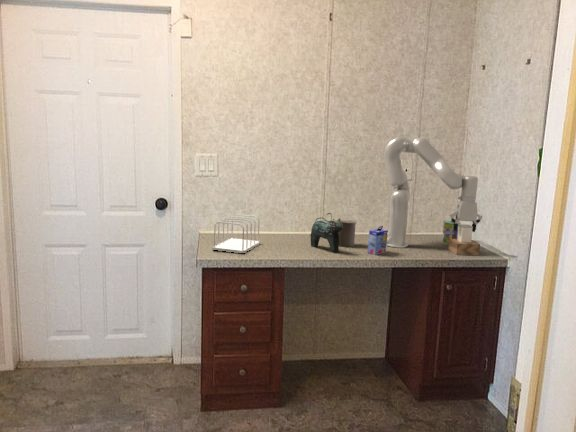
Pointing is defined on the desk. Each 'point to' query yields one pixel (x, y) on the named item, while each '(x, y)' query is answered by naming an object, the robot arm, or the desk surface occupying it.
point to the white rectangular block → (464, 233)
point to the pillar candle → (347, 233)
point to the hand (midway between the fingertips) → (464, 231)
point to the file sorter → (234, 243)
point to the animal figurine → (327, 233)
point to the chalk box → (449, 231)
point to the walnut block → (464, 247)
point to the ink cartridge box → (377, 241)
